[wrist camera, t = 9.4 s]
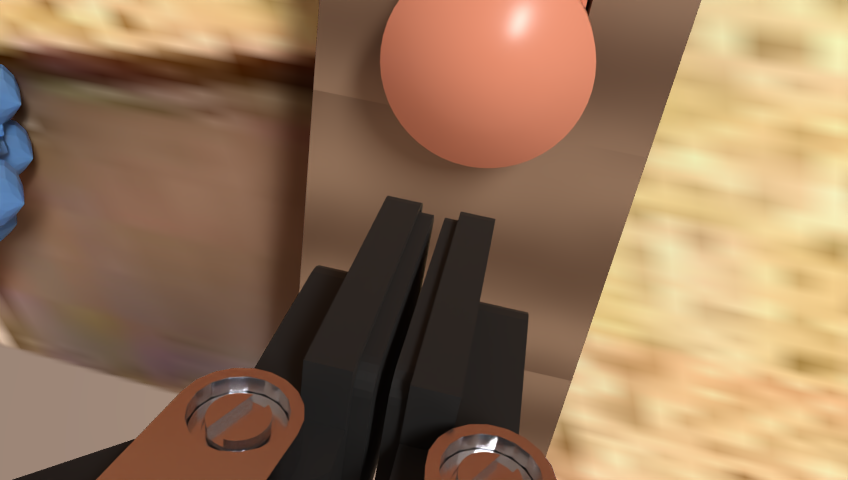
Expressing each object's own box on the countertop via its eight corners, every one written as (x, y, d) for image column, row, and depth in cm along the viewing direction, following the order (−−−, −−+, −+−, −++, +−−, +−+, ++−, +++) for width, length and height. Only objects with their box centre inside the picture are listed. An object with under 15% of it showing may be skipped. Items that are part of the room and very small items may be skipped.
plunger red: (434, -90, 26) (394, -66, 20) (608, -58, 25) (624, -23, 19) (410, 79, 29) (369, 145, 23) (564, 110, 29) (565, 186, 22)
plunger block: (375, -160, 26) (330, -158, 21) (696, -103, 26) (731, -87, 20) (323, 365, 40) (288, 444, 35) (534, 414, 39) (529, 502, 34)
